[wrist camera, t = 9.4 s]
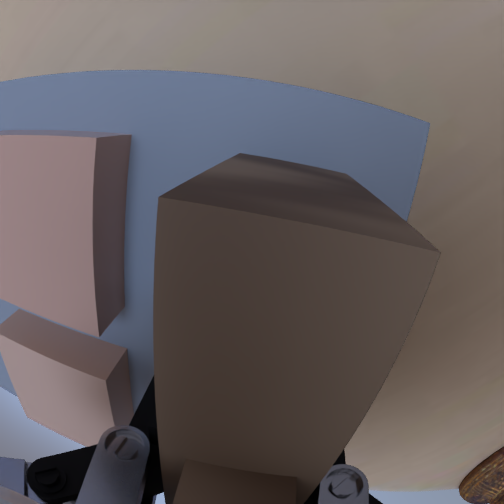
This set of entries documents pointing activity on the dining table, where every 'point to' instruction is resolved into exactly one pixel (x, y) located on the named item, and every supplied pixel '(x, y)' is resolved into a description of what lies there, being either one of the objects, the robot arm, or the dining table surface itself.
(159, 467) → the robot arm
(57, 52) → the dining table surface
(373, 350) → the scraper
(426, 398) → the dining table surface
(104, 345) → the tile
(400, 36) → the dining table surface
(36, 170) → the tile
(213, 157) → the board
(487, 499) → the bell
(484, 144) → the dining table surface
